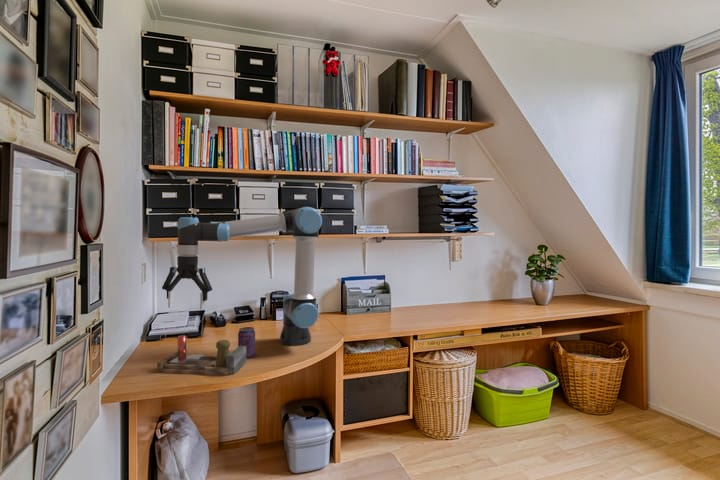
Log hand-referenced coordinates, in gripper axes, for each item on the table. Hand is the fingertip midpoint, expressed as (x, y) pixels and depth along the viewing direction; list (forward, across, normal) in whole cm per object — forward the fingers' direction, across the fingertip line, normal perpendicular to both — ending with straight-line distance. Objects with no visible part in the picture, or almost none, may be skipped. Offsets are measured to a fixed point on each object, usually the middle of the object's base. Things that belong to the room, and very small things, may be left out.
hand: (186, 307), depth 155 cm
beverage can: (+22, -21, -12) cm, 33 cm away
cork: (+23, -17, +2) cm, 29 cm away
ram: (+21, -3, +3) cm, 22 cm away
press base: (+23, -9, +3) cm, 25 cm away
